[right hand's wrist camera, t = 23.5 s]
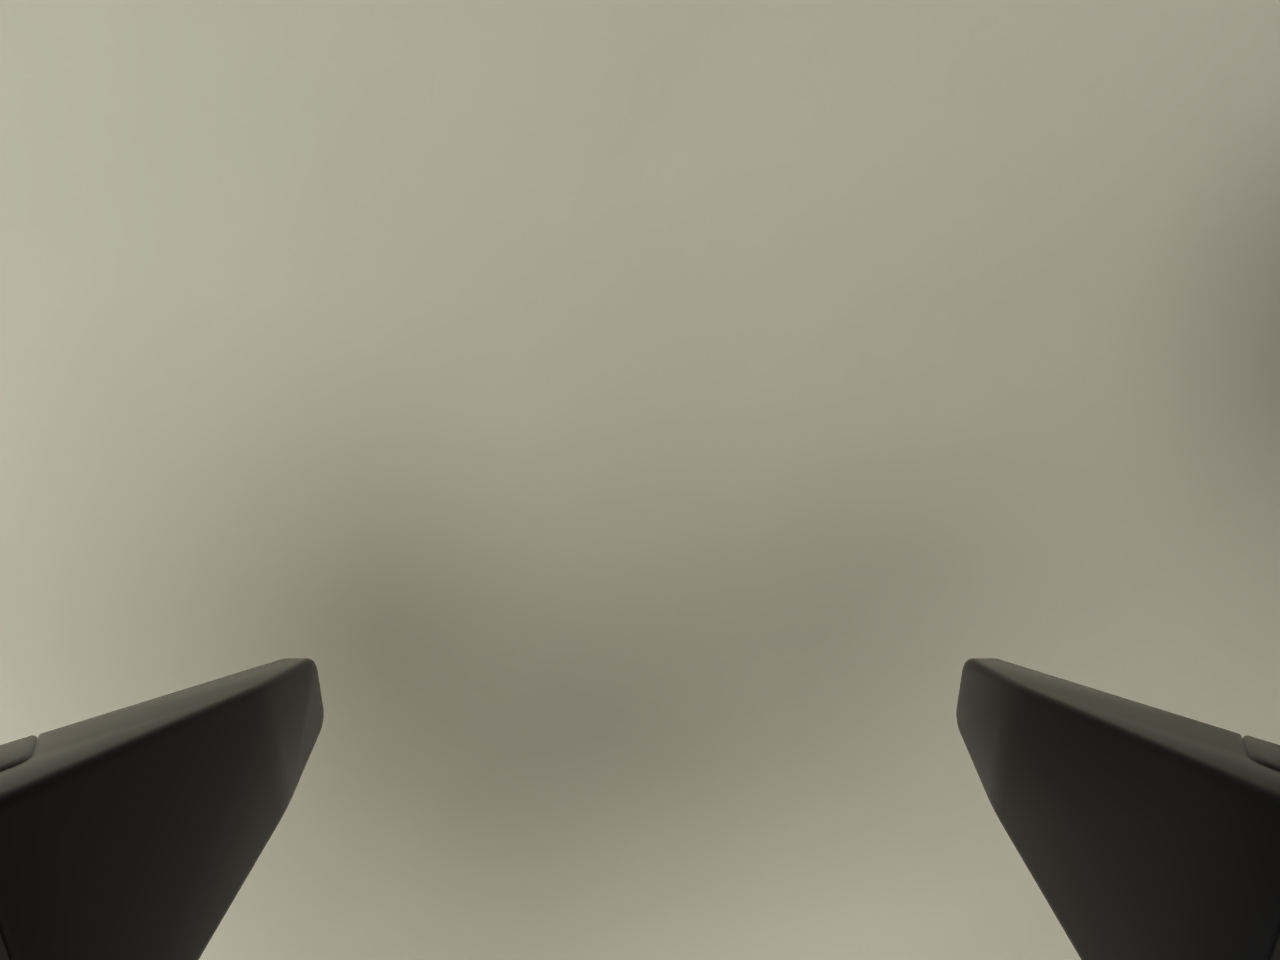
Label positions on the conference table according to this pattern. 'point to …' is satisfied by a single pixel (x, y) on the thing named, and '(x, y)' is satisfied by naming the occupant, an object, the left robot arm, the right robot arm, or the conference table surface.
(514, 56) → the conference table surface
